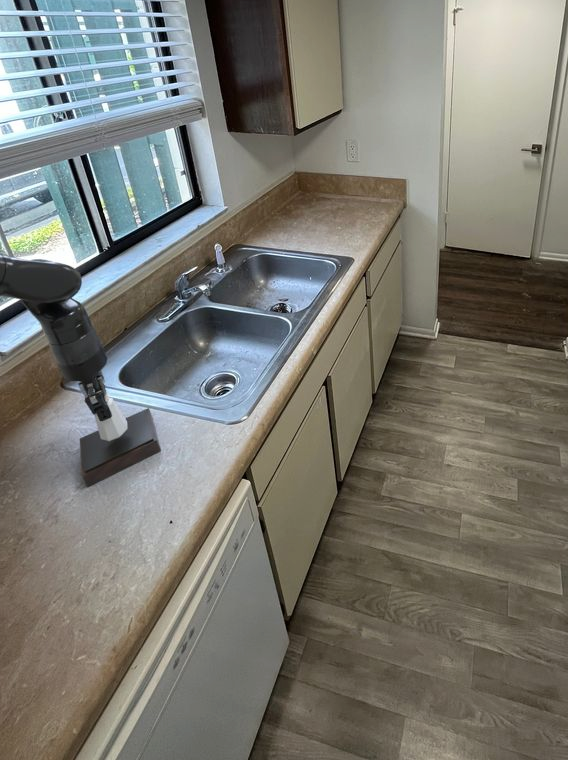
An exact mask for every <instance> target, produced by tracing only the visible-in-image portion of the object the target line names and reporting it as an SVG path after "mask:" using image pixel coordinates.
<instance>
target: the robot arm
mask: <svg viewBox="0 0 568 760" xmlns="http://www.w3.org/2000/svg"><path fill="white" fill-rule="evenodd" d="M82 284H83V280H82V276H81V273H80V272H79V271H78V270H77V269H76V268H75V267H73V266H71V265H69V264H66V263H62V262H57V261H52V260H48V259H42V258H33V259H24V258H19V257H16V256H13V255H9V254H5V253H0V298H11V299H16V300H20V301H21V303H22V304H23V306H24V307H25V308H26V309H27V310H28V312H29V313H30V314H31V315H32V316H33V317H34V319H36V320H37V321H38V323H39V325H40V327H41V329H42V332H43V333H44V336H45V338H46V340H47V343H48V345H49V349H50V353H51V354H52V356H53V358H54V359H53V360H54V361H55V363H56V365H57V367H58V369H59V371H60V374H61V376H62V377H63V379H64V380H66V381H69V382H78V383H77V385H78V388H79V391H80V392H82V393H83V397H84V403H85V404H86V406H87V407H88V409H89V410H90V412H91V414H92V415H94V414H97V416H98V418H99V420H100V421H104V420H107V419H109V418H111V417H112V413H111V411H110V408H109V406H108V401H107V400H106V398H105V396H106V391H107V389H106V387H107V386H106V384H105V383H106V380H105V376H104V374H103V370H104V368H105V367H106V365H107V363H108V357H107V354H106V352H105V348H104V347H103V344H102V341H101V339H100V337H99V335H98V332H97V330H96V329H95V328H94V326H93V324H92V321H91V319H90V316H89V314H88V312H87V310H86V308H85V305H83V303H81V302H80V301H78V300H76V299H74V297H75V296H76V295H77V294H78V293H79V291H80V290H81V288H82ZM101 390H102V391H101ZM99 391H101V392H99ZM97 392H98V393H97ZM94 416H95V415H94Z"/></svg>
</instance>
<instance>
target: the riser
mask: <svg viewBox="0 0 568 760" xmlns="http://www.w3.org/2000/svg"><path fill="white" fill-rule="evenodd" d="M125 419H126V421H127V430H126V431H125V432H124V433H123V434H122V435H121V436H120V437H118V438H116V439H113V440H111V441H106V440H103V439H101V438H100V434H99V430H98V429H97V430H96V431H94V432H91V433H89V434H87V435H84V436H82V437H79V450H80V453H79V454H80V463H81V477H82V480H83V481H84V483H85V485H86V487H87V488H89V487H92V486H94V485H95V484H97V483H99V482H102V481H103V480H105V479H107V478H109V477H112V476H113V475H115V474H117V473H120V472H122V471H124V470H125V469H127V468H129V467H132V466H134V465H135V464H138V463H140V462H142V461H145V460H147V459H148V458H151V457H152V456H154V455H156V454H158V453H160V452H161V451H162V449H161V448H162V447H161V444H160V440H159V437H158V433H157V428H156V425H155V421H154V418H153V415H152V412H151V409H150V407H148V408H145V409H142V410H140V411H138V412H136V413H134V414H132V415H129V416H127V417H125Z"/></svg>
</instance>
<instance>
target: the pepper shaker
mask: <svg viewBox="0 0 568 760" xmlns="http://www.w3.org/2000/svg"><path fill="white" fill-rule="evenodd" d="M101 391H102V390H101ZM101 391H99V392H101ZM97 393H98V392H97ZM105 398H106V400H107V401H108V406H109V408H110V411H111V413H112V417H111V418H109V419H107V420H104V421H100V420H99V418H98V416H97V414H94V419H95V423H96V427H97V431H98V430H99V434H100V438H101V439H103V440H106V441H111V440H113V439H116V438H118V437H120V436H121V435H122V434H123V433H124V432H125V431H126V430H127V421H126V419H125V418H126V417H125V416H124V414H123V412H122V411H121V409H120V408H119V406H118V405H117V403H116V402H115V400H114V399H113V397H110V396H109V395H108V391H107V390H106V396H105Z"/></svg>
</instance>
